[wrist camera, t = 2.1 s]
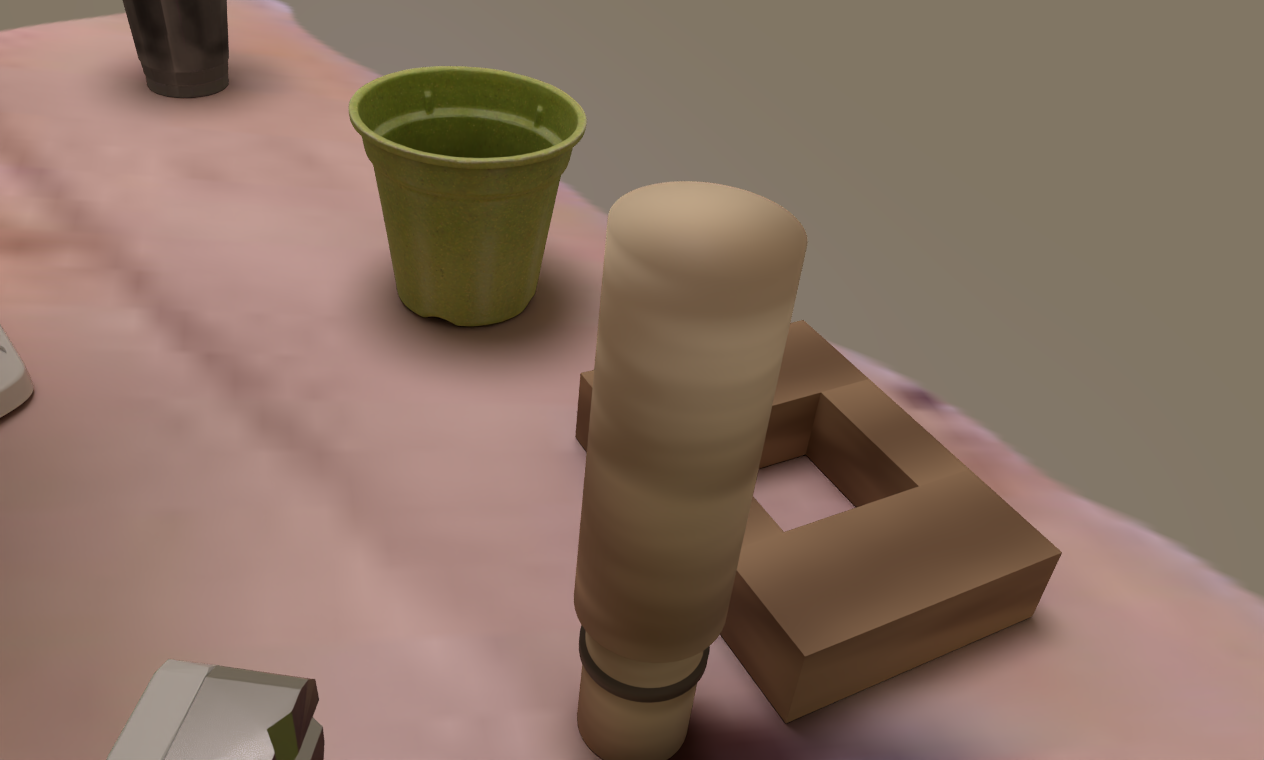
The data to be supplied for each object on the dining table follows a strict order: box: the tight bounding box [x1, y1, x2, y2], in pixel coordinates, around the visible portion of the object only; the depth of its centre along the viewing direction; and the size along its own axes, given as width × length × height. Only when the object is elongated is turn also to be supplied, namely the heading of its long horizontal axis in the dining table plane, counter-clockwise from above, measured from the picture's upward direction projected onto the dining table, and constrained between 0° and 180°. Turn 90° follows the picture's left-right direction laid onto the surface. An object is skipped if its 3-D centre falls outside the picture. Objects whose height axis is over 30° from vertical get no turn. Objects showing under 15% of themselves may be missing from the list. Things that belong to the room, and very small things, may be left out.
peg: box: [574, 181, 807, 760], centre depth 26 cm, size 4×4×16 cm
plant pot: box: [349, 66, 587, 326], centre depth 46 cm, size 9×9×9 cm
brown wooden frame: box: [575, 320, 1062, 723], centre depth 37 cm, size 14×10×3 cm
